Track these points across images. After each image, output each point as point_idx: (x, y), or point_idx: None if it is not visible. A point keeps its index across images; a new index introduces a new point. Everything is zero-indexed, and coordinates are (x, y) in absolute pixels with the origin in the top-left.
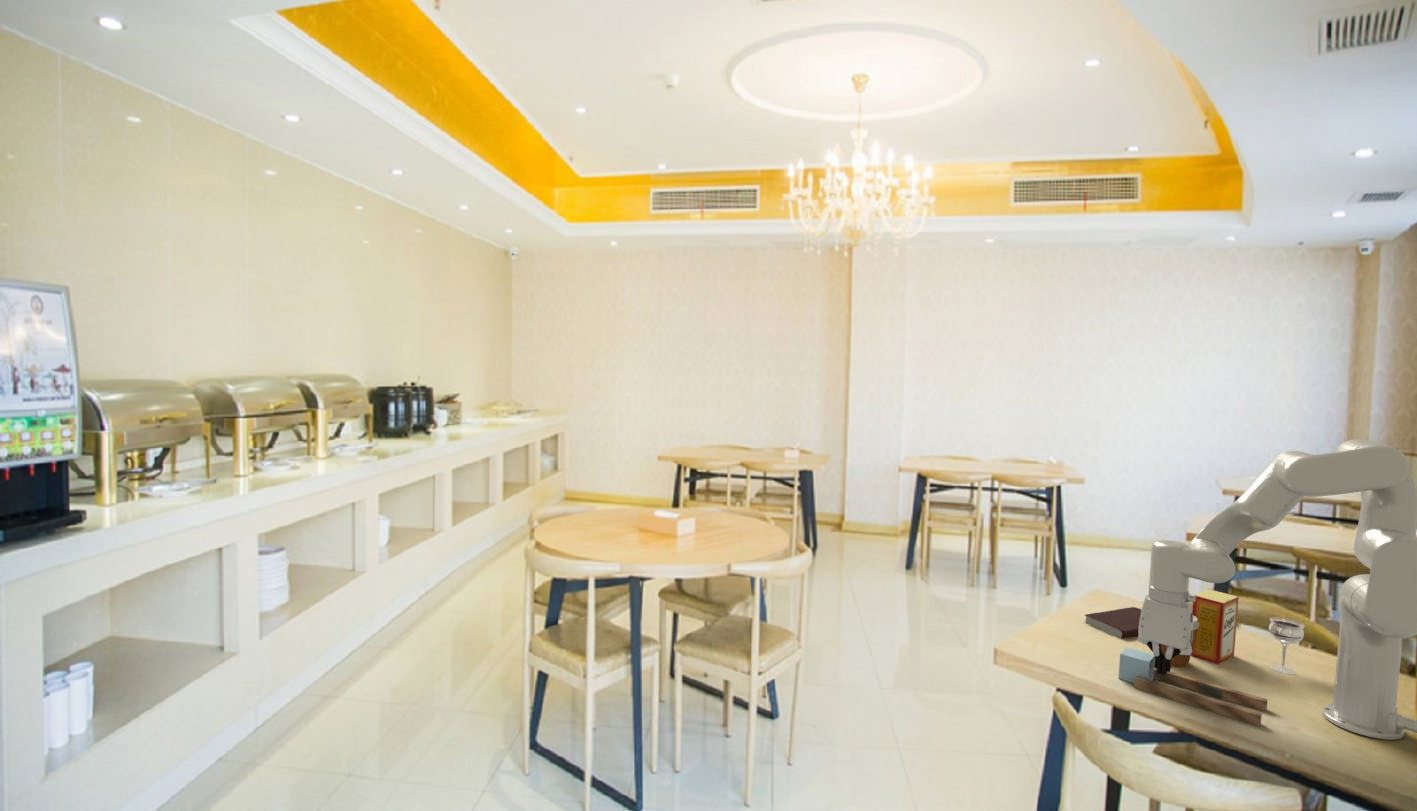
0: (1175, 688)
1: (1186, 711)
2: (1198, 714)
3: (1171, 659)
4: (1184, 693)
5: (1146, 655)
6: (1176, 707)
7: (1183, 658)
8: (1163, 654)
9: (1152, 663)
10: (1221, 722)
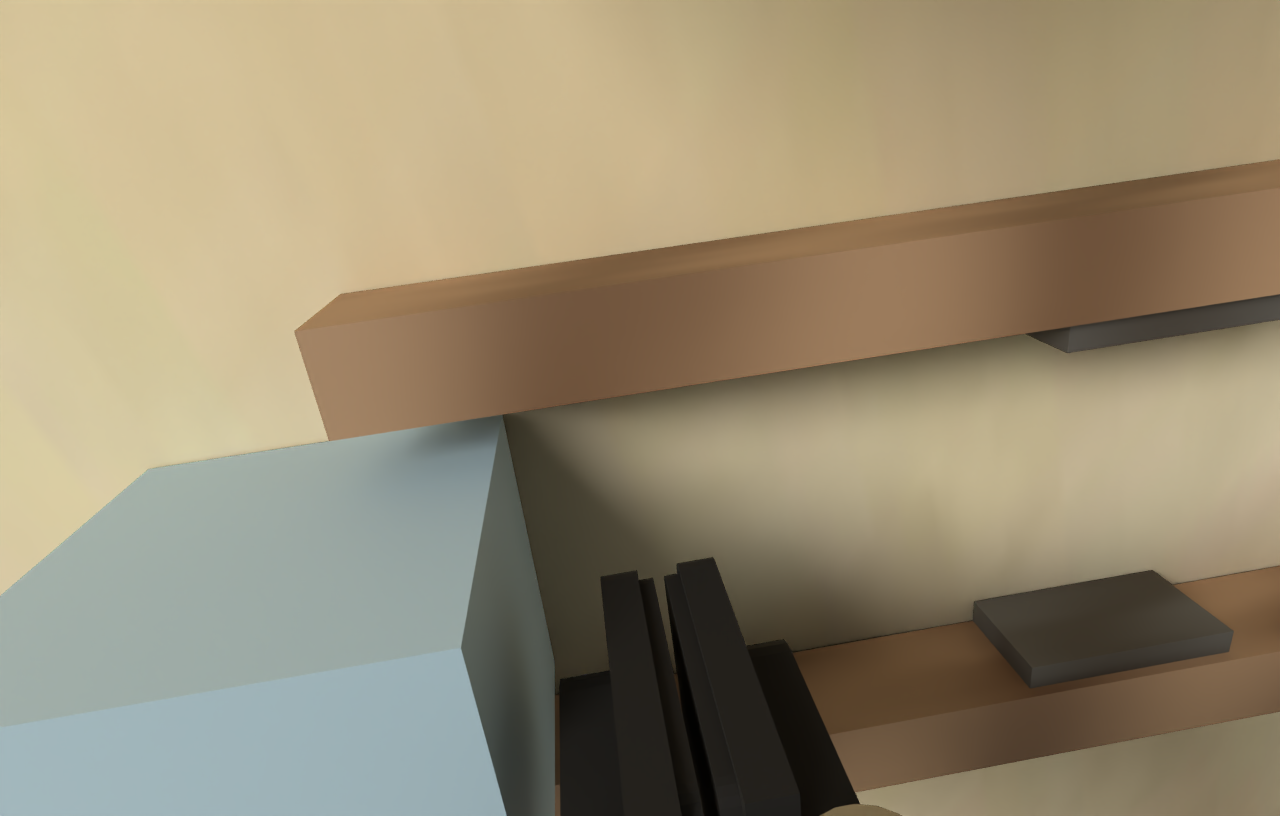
0: (865, 744)
1: (955, 804)
2: (1038, 777)
3: (855, 797)
4: (961, 770)
5: (366, 810)
6: (880, 806)
7: None
8: (678, 803)
9: (513, 721)
10: (1193, 758)
